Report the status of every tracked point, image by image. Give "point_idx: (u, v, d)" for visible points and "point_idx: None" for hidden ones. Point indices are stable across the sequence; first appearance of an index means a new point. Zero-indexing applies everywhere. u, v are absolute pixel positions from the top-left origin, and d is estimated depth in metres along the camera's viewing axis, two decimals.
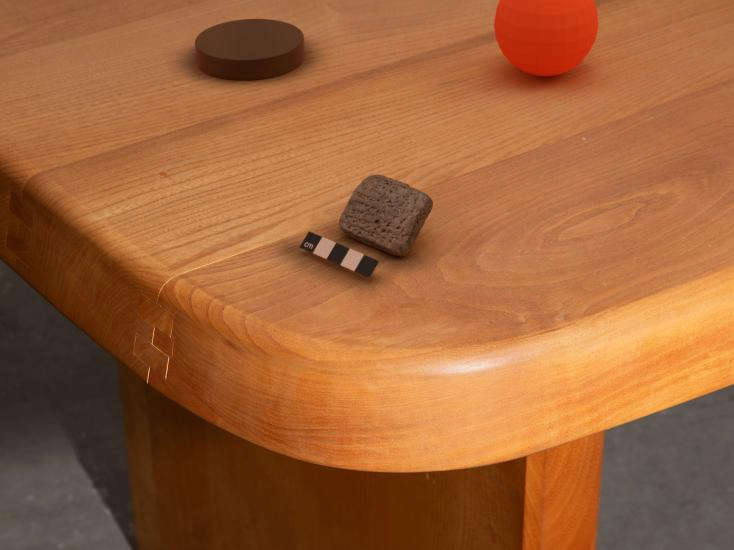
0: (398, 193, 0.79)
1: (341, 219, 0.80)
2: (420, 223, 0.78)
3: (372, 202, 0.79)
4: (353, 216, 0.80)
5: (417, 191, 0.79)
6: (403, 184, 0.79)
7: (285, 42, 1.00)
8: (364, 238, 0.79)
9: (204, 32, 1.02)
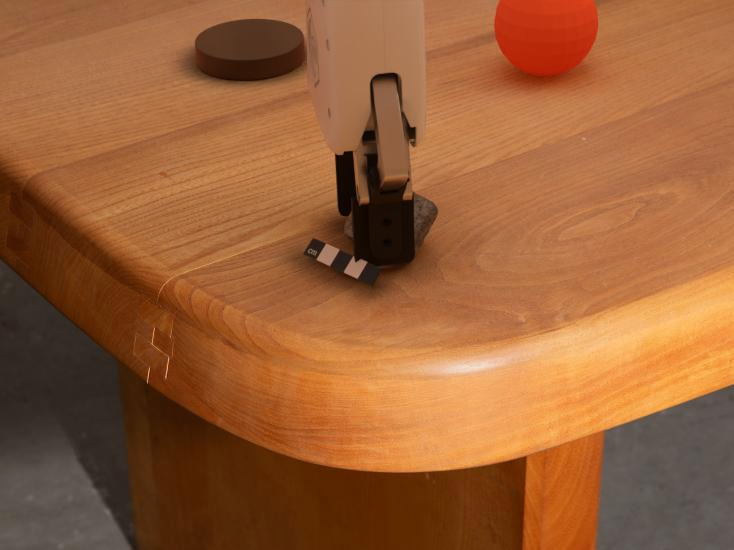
0: None
1: (346, 226, 0.80)
2: (425, 231, 0.77)
3: None
4: None
5: (422, 198, 0.78)
6: None
7: (285, 42, 1.00)
8: None
9: (204, 32, 1.02)
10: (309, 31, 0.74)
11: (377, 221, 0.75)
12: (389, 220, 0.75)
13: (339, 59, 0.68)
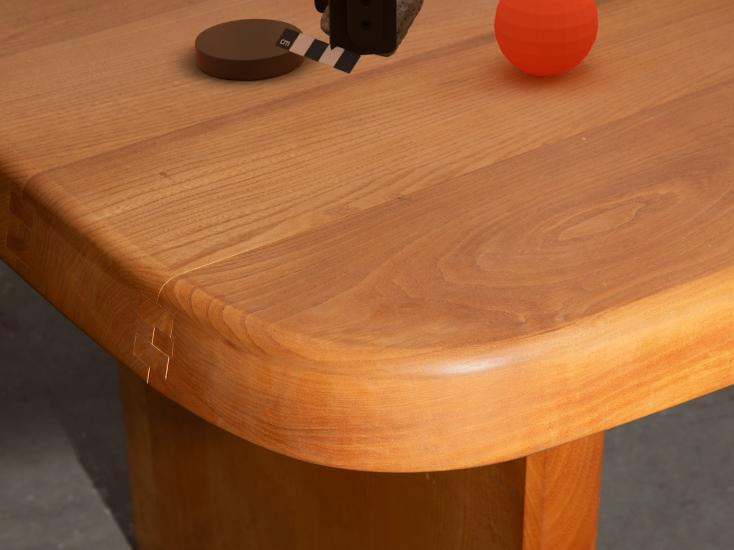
0: None
1: (322, 18, 0.73)
2: (408, 21, 0.71)
3: None
4: None
5: None
6: None
7: None
8: None
9: (204, 32, 1.02)
10: None
11: None
12: None
13: None
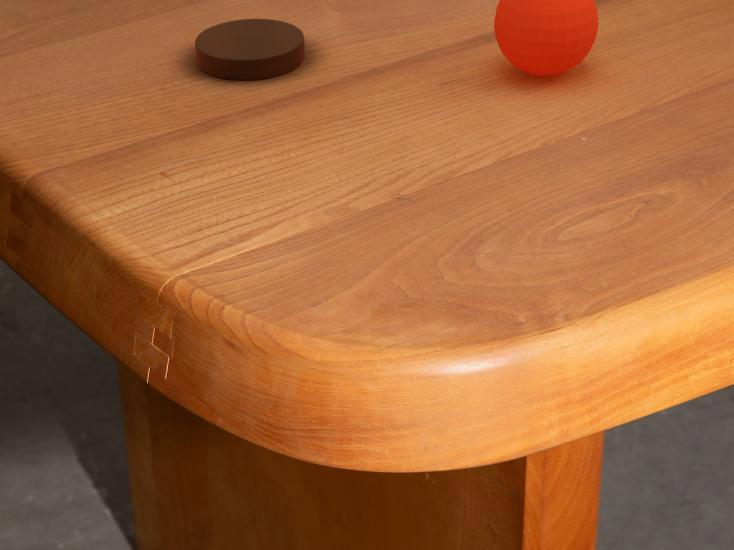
0: None
1: None
2: None
3: None
4: None
5: None
6: None
7: (285, 42, 1.00)
8: None
9: (204, 32, 1.02)
10: None
11: None
12: None
13: None
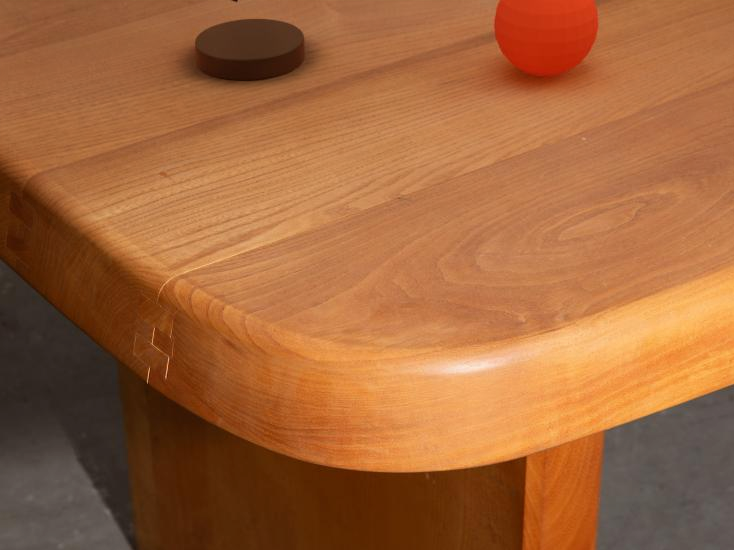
0: None
1: None
2: None
3: None
4: None
5: None
6: None
7: (285, 42, 1.00)
8: None
9: (204, 32, 1.02)
10: None
11: None
12: None
13: None
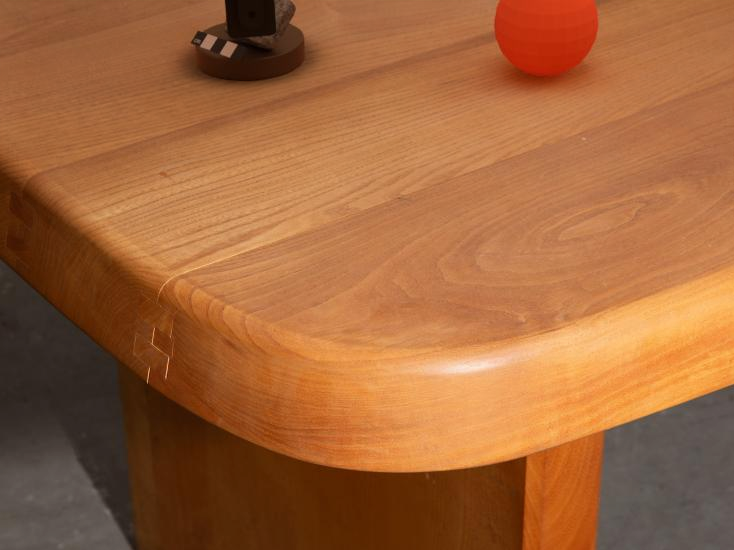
0: None
1: (225, 23, 1.01)
2: (284, 23, 0.99)
3: None
4: None
5: None
6: None
7: (285, 43, 1.00)
8: None
9: (204, 32, 1.02)
10: None
11: None
12: None
13: None
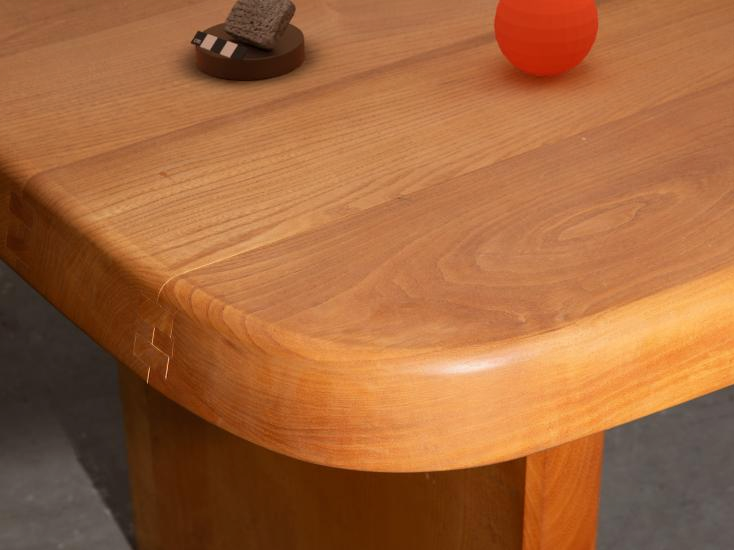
0: (269, 1, 0.99)
1: (225, 23, 1.01)
2: (284, 23, 0.99)
3: (249, 8, 1.00)
4: (234, 20, 1.00)
5: None
6: None
7: (285, 43, 1.00)
8: (242, 36, 1.00)
9: (204, 32, 1.02)
10: None
11: None
12: None
13: None
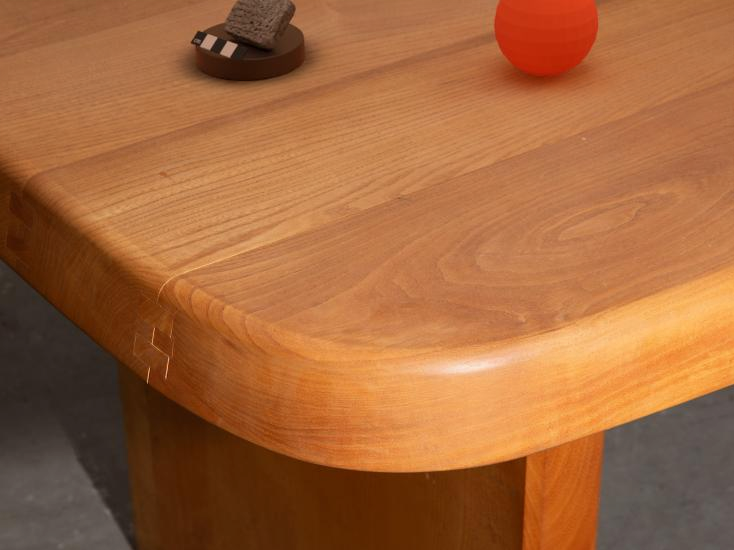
0: (269, 1, 0.99)
1: (225, 23, 1.01)
2: (284, 23, 0.99)
3: (249, 8, 1.00)
4: (234, 20, 1.00)
5: None
6: None
7: (285, 43, 1.00)
8: (242, 36, 1.00)
9: (204, 32, 1.02)
10: None
11: None
12: None
13: None
